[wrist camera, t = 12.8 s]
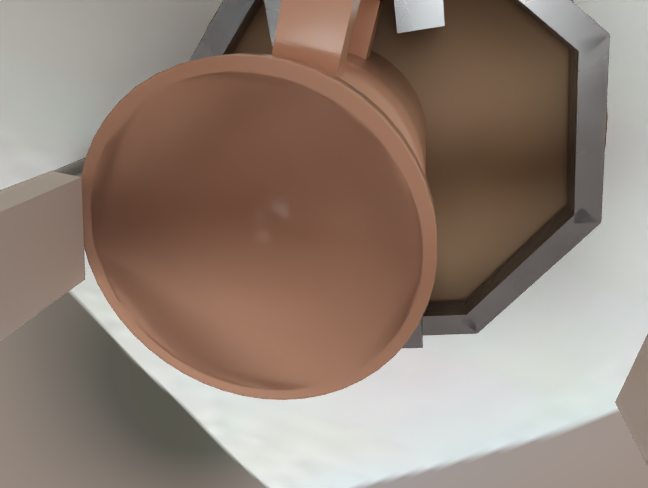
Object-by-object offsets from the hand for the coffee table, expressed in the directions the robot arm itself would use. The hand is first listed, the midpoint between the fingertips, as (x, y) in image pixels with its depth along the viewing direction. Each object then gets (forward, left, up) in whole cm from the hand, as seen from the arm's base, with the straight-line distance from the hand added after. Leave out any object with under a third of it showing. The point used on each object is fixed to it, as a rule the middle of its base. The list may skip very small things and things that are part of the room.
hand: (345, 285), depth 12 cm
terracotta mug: (-2, -2, -12) cm, 12 cm away
